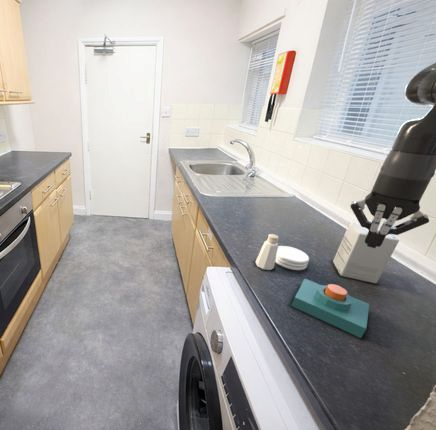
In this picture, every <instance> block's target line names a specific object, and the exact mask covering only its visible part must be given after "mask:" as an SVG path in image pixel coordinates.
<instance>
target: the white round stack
mask: <svg viewBox="0 0 436 430" xmlns="http://www.w3.org/2000/svg"><path fill="white" fill-rule="evenodd" d="M309 262H310V257H309V255H308V254H307V253H306V252H304V251H303V250H301V249H299V248H296V247H293V246H288V245H278V249H277V255H276V260H275V264H277V265H278V266H280V267H282V268H285V269H288V270H292V271H303V270H306V268H307V267H308V265H309Z"/></svg>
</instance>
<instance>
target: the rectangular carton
mask: <svg viewBox="0 0 436 430" xmlns="http://www.w3.org/2000/svg"><path fill="white" fill-rule="evenodd" d="M380 228H381V226H379V227H378V231H379V230H380ZM345 230H346V231H345V232H344V235H343V237H342V240H341V242H340V245H339V246H338V249H337V251H336V254H335V256H334V258H333V260H332V262H333V264H334V266H335V268H336V270H337V272H338V274H339V276H341V277H344V278H349V279H354V280H358V281H363V282H366V283H367V282H368V283H371V284H378V281H379V280H380V278H381V276H382V274H383V272H384V271H385V268H386V267H387V264H388V263H389V261H390V259H391V257H392V255H393V253H394V251H395V249H396V247H397V246H398V244H399V242H400V239H399V238H397V237H396V235H394V234H388V235H386V237H385V239H384V241H383V243H382V245H381V246H380V247H378V246H376V248H372V247H368V246H367V244H366V243H365V238H366V236H367V234H368V231H369V230H368V229H367V228H365V227H362V226H361V225H360V223H359V222H353V221H350V222H349V223H348V226H347V229H345Z"/></svg>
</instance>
